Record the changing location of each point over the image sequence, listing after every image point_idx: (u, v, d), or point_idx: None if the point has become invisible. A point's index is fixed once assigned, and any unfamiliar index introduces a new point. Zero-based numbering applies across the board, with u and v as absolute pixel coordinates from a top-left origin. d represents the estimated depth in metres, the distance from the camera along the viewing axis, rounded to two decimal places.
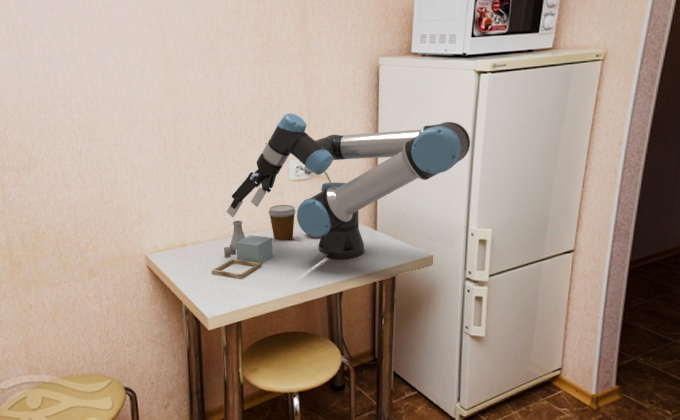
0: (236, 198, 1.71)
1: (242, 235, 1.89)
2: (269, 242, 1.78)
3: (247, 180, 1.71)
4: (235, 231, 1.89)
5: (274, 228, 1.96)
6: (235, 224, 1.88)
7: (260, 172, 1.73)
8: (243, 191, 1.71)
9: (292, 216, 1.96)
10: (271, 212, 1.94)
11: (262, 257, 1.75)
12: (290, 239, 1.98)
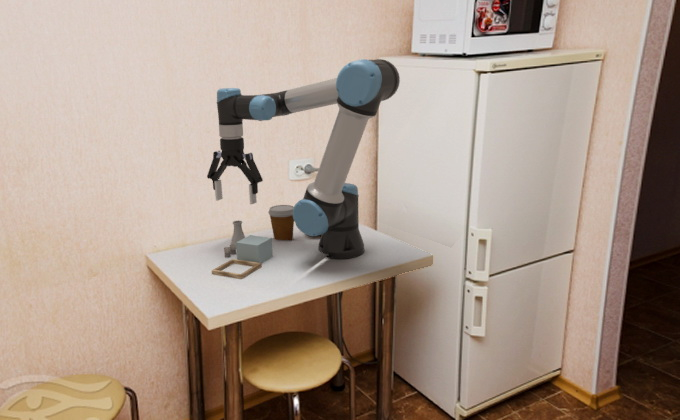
0: None
1: (242, 235, 1.89)
2: (269, 242, 1.78)
3: None
4: (235, 231, 1.89)
5: (274, 228, 1.96)
6: (235, 224, 1.88)
7: None
8: None
9: (292, 216, 1.96)
10: (271, 212, 1.94)
11: (262, 257, 1.75)
12: (290, 239, 1.98)
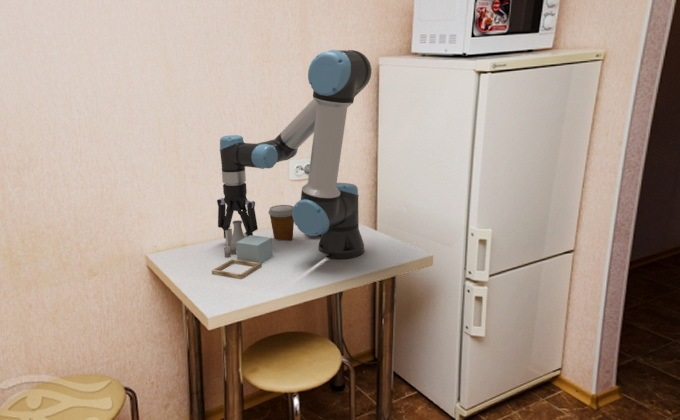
0: None
1: (242, 235, 1.89)
2: (269, 242, 1.78)
3: None
4: (235, 231, 1.89)
5: (274, 228, 1.96)
6: (235, 224, 1.88)
7: None
8: None
9: None
10: (271, 212, 1.94)
11: (262, 257, 1.75)
12: (290, 239, 1.98)
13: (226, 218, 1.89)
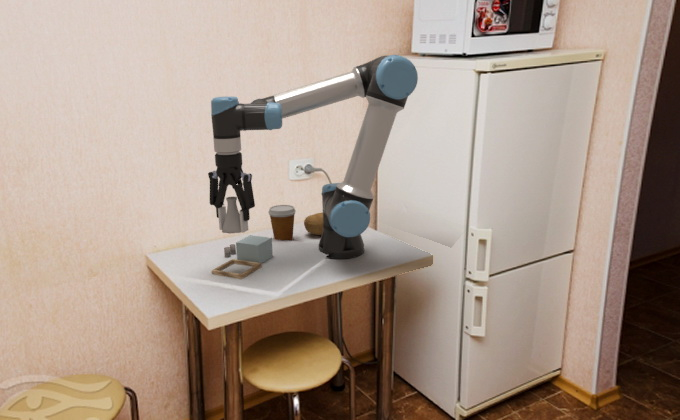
0: None
1: (237, 213, 1.64)
2: (269, 242, 1.78)
3: None
4: (229, 208, 1.63)
5: (274, 228, 1.96)
6: (229, 200, 1.63)
7: None
8: None
9: (292, 216, 1.96)
10: (271, 212, 1.94)
11: (262, 257, 1.75)
12: (290, 239, 1.98)
13: (219, 194, 1.64)
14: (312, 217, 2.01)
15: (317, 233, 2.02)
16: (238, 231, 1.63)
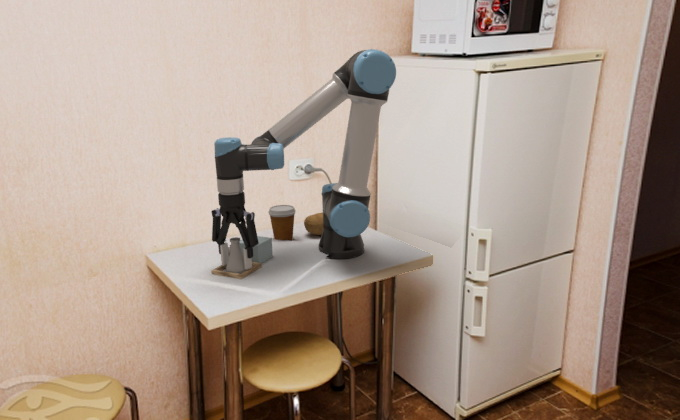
0: None
1: (240, 254, 1.67)
2: (269, 242, 1.78)
3: None
4: (232, 249, 1.67)
5: (274, 228, 1.96)
6: (232, 242, 1.66)
7: None
8: None
9: (292, 216, 1.96)
10: (271, 212, 1.94)
11: (262, 257, 1.75)
12: (290, 239, 1.98)
13: (221, 231, 1.67)
14: (312, 217, 2.01)
15: (317, 233, 2.02)
16: (241, 272, 1.67)
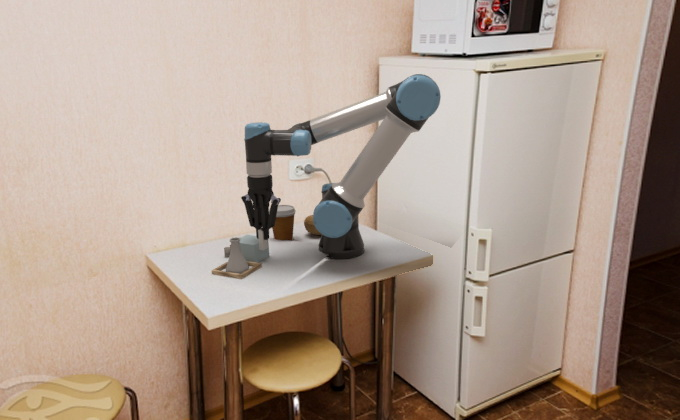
0: None
1: (240, 254, 1.67)
2: None
3: None
4: (232, 249, 1.67)
5: (274, 228, 1.96)
6: (232, 242, 1.66)
7: None
8: None
9: (292, 216, 1.96)
10: None
11: (258, 256, 1.76)
12: (290, 239, 1.98)
13: (256, 215, 1.73)
14: (312, 217, 2.01)
15: (317, 233, 2.02)
16: (241, 272, 1.67)
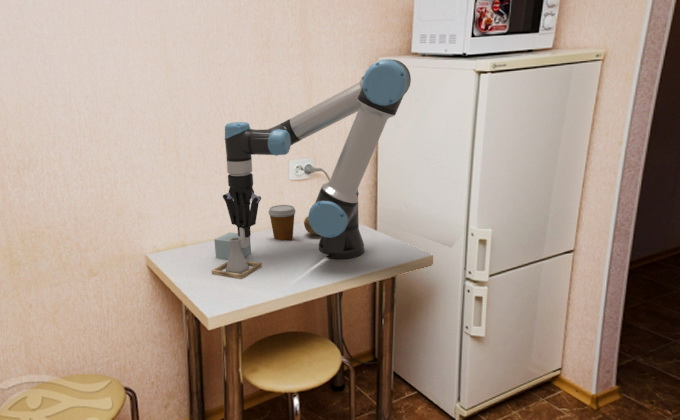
0: None
1: (240, 254, 1.67)
2: None
3: None
4: (232, 249, 1.67)
5: (274, 228, 1.96)
6: (232, 242, 1.66)
7: None
8: None
9: (292, 216, 1.96)
10: (271, 212, 1.94)
11: None
12: (290, 239, 1.98)
13: (237, 213, 1.76)
14: None
15: None
16: (241, 272, 1.67)
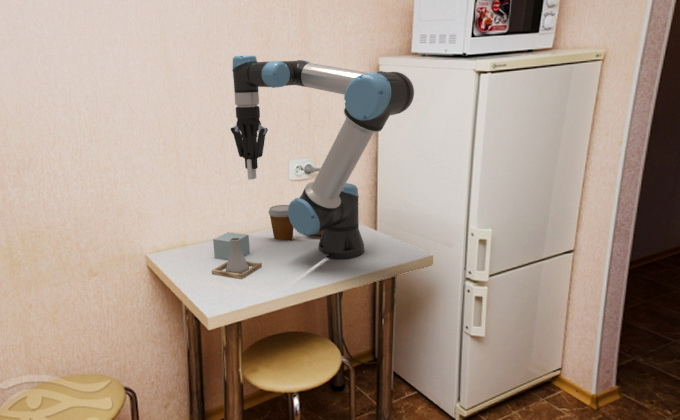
0: None
1: (240, 254, 1.67)
2: (246, 239, 1.82)
3: None
4: (232, 249, 1.67)
5: (274, 228, 1.96)
6: (232, 242, 1.66)
7: None
8: None
9: None
10: (271, 212, 1.94)
11: None
12: (290, 239, 1.98)
13: (244, 145, 1.82)
14: None
15: (317, 233, 2.02)
16: (241, 272, 1.67)
